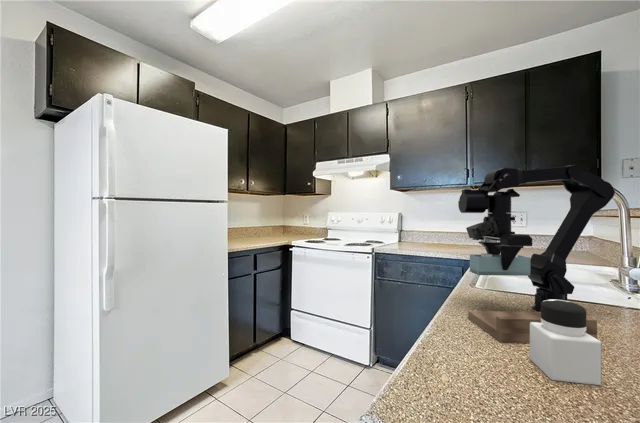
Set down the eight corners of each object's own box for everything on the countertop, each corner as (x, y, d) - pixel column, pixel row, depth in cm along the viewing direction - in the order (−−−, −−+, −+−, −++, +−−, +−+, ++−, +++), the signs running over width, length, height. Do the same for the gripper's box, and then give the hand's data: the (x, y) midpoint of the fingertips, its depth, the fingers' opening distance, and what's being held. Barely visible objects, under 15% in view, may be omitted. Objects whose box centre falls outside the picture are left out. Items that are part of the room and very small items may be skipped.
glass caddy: (518, 272, 84) (518, 253, 84) (530, 275, 79) (530, 255, 79) (469, 271, 84) (469, 252, 84) (478, 275, 79) (478, 255, 79)
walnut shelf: (546, 319, 74) (546, 300, 74) (597, 344, 60) (597, 320, 60) (468, 318, 75) (468, 299, 75) (500, 342, 61) (500, 319, 61)
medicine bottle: (602, 386, 45) (602, 310, 46) (551, 380, 47) (551, 307, 47) (572, 363, 52) (572, 297, 53) (528, 359, 54) (529, 295, 54)
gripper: (455, 213, 91) (455, 262, 91) (488, 212, 72) (488, 274, 72) (491, 213, 91) (491, 262, 91) (533, 213, 72) (533, 275, 72)
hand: (499, 268), depth 81 cm, fingers closed on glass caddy, 5 cm apart
